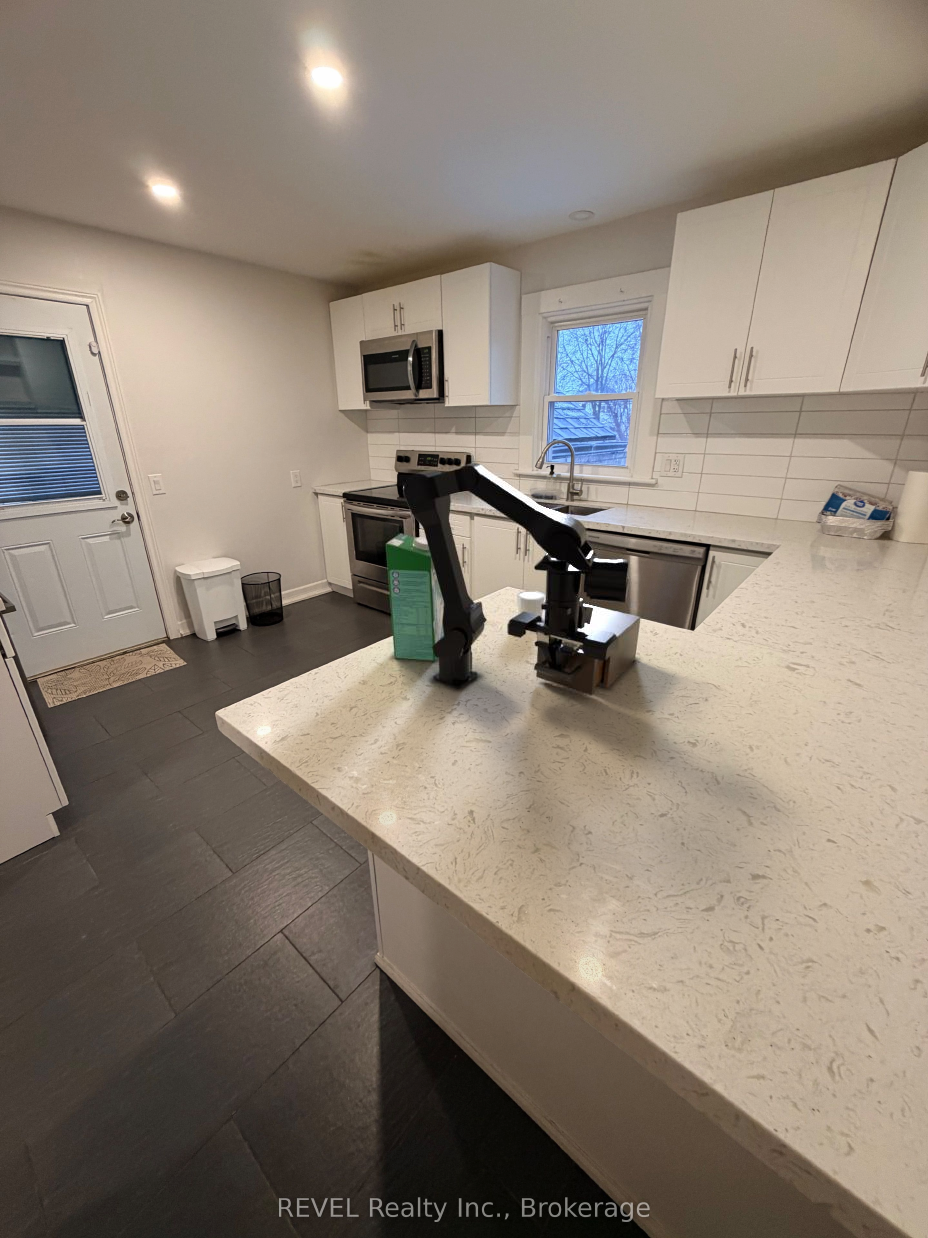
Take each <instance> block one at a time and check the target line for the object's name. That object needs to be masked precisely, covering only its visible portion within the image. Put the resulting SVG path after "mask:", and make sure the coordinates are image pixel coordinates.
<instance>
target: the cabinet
mask: <svg viewBox="0 0 928 1238" xmlns="http://www.w3.org/2000/svg"><path fill="white" fill-rule="evenodd" d="M583 605H585V606H589V607H593V613H592V617H591V622H590V624H587V623H585V625H584V627H583V628H582V629H578V631H581V632H585V634H588V635H589V634H591V633H592V632H593V631H594V630H596V629H598V630H602V631H606V632H610V633H615V634H616V636H617V638H618V640H619V641H618V649H617V650H616V651H615V652H614V653H613V654H611V655H610V656H609V657H608V658H607V659H606V663H605V673H604V678H603V679H602V680H601V681H600V682H599V683H598V684H597V685H596V686H599V687H603V688H606V689H608V688H609V687H610V686H611V684H613V683H614V681H615V680H617V678H618V677H619V676H620V675H621V674H622V673H623V672H625V670H626V669H627V668H628V667H629V666H630V665H631V664H632V663H633V662H634V661H635V660H636V655H637V649H638V640H639V633H640V625H641V618H642V617H641V616H638V615H635V614H630V613H625V612H621V611H617V610H612V609H608V608H603V607H600V606H599V607H598V606H593V605H589V604H585V603H583Z"/></svg>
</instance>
